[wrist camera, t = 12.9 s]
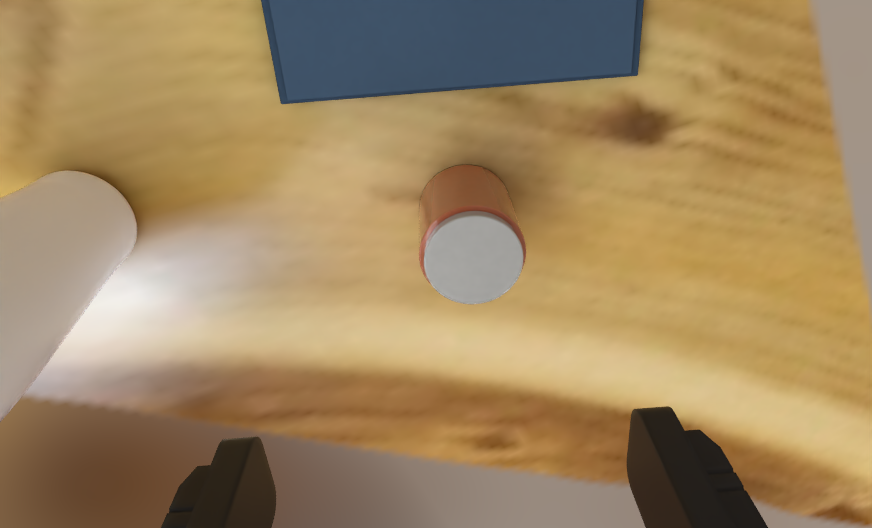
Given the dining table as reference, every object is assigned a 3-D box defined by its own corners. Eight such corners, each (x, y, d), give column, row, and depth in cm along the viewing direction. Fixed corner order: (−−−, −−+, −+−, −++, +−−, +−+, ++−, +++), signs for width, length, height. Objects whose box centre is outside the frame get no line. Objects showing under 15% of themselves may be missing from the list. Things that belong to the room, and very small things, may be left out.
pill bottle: (415, 168, 29) (414, 215, 24) (509, 160, 29) (528, 206, 24) (423, 251, 32) (423, 312, 26) (510, 245, 32) (528, 304, 26)
